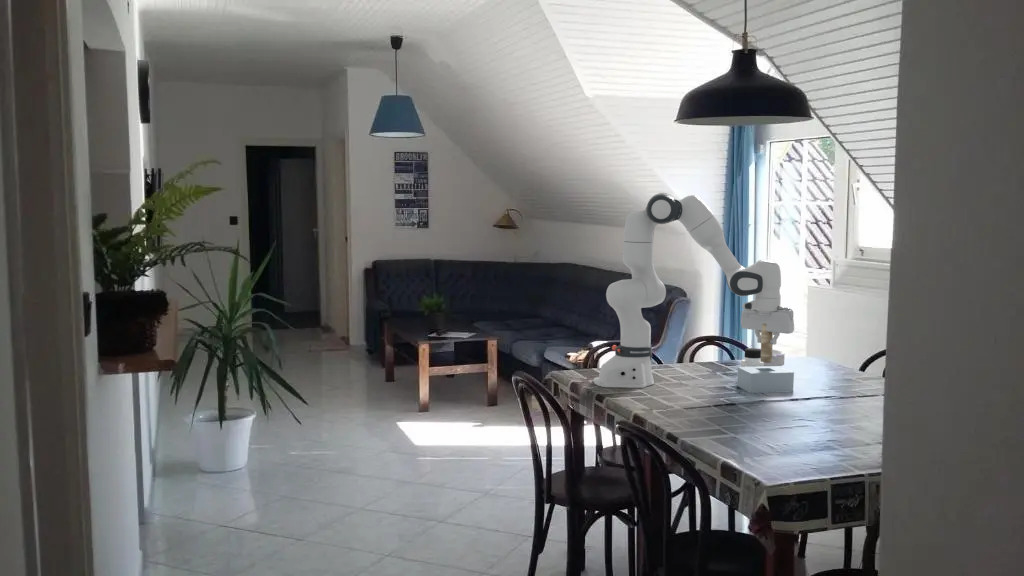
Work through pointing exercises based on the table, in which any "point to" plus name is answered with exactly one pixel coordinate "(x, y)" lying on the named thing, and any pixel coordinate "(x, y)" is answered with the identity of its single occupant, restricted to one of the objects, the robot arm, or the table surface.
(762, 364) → the medicine bottle
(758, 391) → the socket block
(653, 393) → the table surface
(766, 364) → the paper bowls
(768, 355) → the peg
